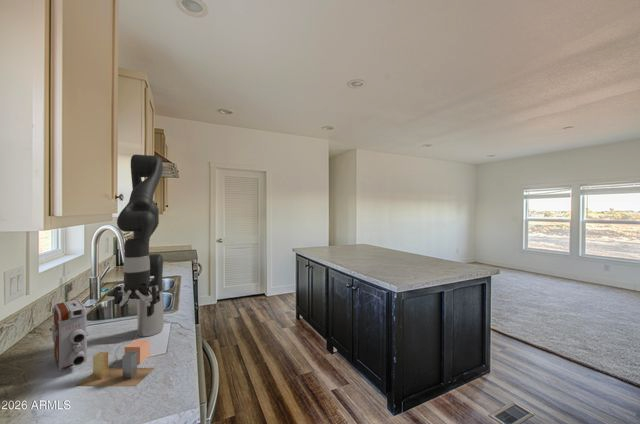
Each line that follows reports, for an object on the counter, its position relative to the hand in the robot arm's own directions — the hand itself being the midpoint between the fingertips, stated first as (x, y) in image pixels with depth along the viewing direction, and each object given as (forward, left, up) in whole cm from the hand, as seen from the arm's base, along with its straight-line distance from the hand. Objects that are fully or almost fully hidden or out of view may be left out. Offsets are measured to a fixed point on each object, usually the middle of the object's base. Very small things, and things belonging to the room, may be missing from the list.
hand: (137, 315), depth 93 cm
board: (+10, 0, -16) cm, 19 cm away
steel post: (+10, +4, -15) cm, 18 cm away
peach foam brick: (0, 0, -16) cm, 16 cm away
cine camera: (+1, -22, -16) cm, 27 cm away
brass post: (+10, -5, -15) cm, 18 cm away
